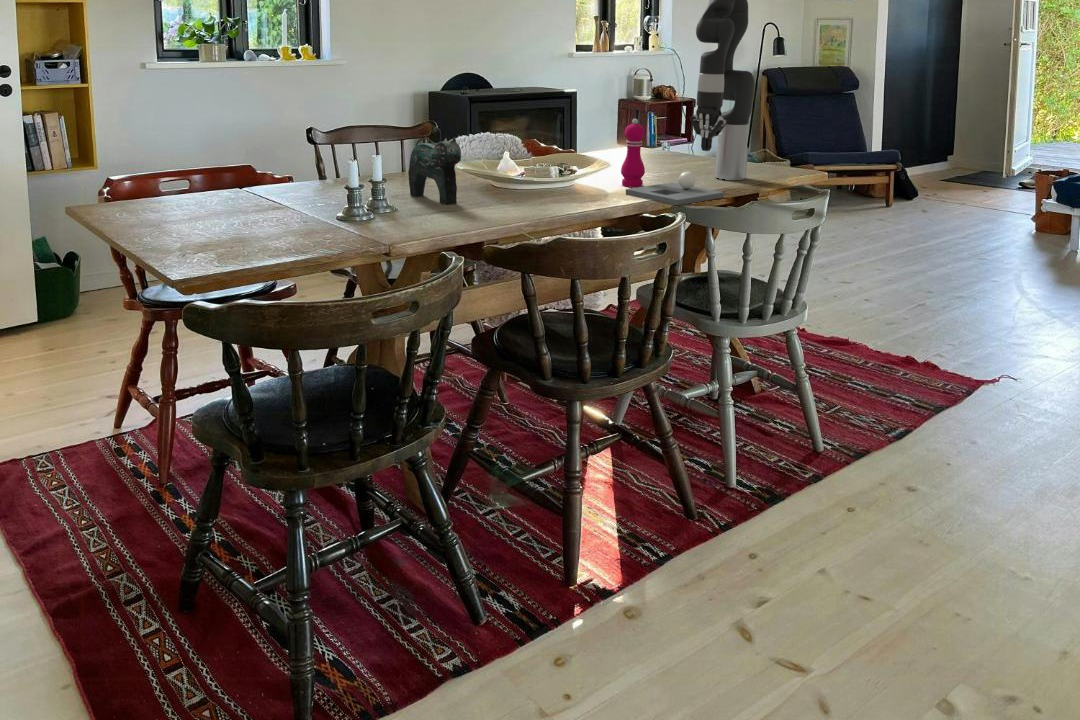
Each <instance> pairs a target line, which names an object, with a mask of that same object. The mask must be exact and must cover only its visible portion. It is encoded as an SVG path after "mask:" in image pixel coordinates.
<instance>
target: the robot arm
mask: <svg viewBox="0 0 1080 720" xmlns="http://www.w3.org/2000/svg"><path fill="white" fill-rule="evenodd" d="M748 25H749V2H748V0H709V2H708V4H707V7H706V8H705V10H704V12H703V13H702V15H701V16H700V18H699V21H698V22H697V24H696V28H695V35H696V38H697V40H698V41H699V42H700V43H704V44H717V49H715V50H711V51H705V52H703V53H701V56H700V60H699V61H700V62H699V63H700V64H699V76H698V82H697V91H696V92H697V93H696V104H695V105H696V106H697V109H696V110H695V114H693V116H689V120H690V123H691V125H692V128H693V129H694V131H695V134H696V135H698V136H699V137H701V141H700V142H701V144H700V147H701V150H702V151H704V152H710V151H711V149H712V147H713V146H712V145H713V138H715V137H717V140H716V141H717V145H716V156H715V171H714V178H715V177H716V178H715V179H717V178H719V179H718V180H722V179H725V180H724V181H742V180H745V179H746V178H747V171H748V169H747V168H748V155H749V147H748V145H747V144H748V137H749V136H748V135H749V134H748V133H749V122H750V121H749V120H750V116H751V114H752V108H753V100H754V93H755V92H754V91H755V78H754V75H753V72H751V71H749V70H739V69H738V70H737V69H734V56H735V52H736V49H737V48H738V46H739V44H740V42H741V41H742V39H743V37H744V35H745V34H746V32H747V30H748ZM724 101H730V102H731V101H733V102H734V104H733V107H732V108H731V109H729V110H726V111H723V112H722V110H721V109H722V107H723V105H724Z"/></svg>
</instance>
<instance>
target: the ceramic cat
mask: <svg viewBox="0 0 1080 720" xmlns="http://www.w3.org/2000/svg"><path fill="white" fill-rule="evenodd" d="M436 130H437V131H438V132H439V137H440V138H439V142H434V141H432V140H431V139H430V138H428V137H422V138H420V139H418V141H417V142H416V143H415V145H414V147H413V149H412V150H411V153H410V157H409V163H408V164H409V165H408V166H409V167H408V171H407V173H408V184H409V185H408V186H409V193H410V196H412V197H415V198H418V197H423V196H424V193H425V188H426V181H427V178H428V179H432V180H433V181H435V185H436V186H437V189H438V194H439V203H440V205H441V204H442V205H446V206H448V205H449V206H450V205H456V204H457V202H458V201H457V199H458V197H457V190H458V186H457V173H456V170H455V165H456V164H459V163H460V162H461V158H462V150H461V147H460V145H459V144H458V143H457V138H456V137H455V136H454V137H453V138H452V139H451V140H447V138H445V139H444V140H443V141H442V133H441V129H440V128H439V127H435V128H434V130H433V131H432V132H433V133H435V131H436ZM425 140H427V141H429V142H425V143H424V142H423V143H420V142H421V141H425Z"/></svg>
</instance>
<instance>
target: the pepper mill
mask: <svg viewBox="0 0 1080 720" xmlns="http://www.w3.org/2000/svg"><path fill="white" fill-rule="evenodd" d="M645 134H646V132H645V129H644V126H642V125H641V124H639V120H638V119H637V118H633V119H632V121H631V124H629V125H627V126H626V127H625V130H624V137H625V138H626V140H625V146H626V148H627V149H626V155H625V159H624V160H623V163H622V165H621V167H620V168H621V169H620V174H621V175H622V177H623V178H622V180H621V185H622V186H623V187H625V188H638V187H644V186H643V184H644V182H643V179H642V177H644V176H645V174H646V171H645V169H646V168H645V164H644V162H643V159H642V155H641V147H642V146H643V142H644V141H643V138H644V137H645Z"/></svg>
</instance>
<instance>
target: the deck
mask: <svg viewBox="0 0 1080 720" xmlns="http://www.w3.org/2000/svg"><path fill="white" fill-rule="evenodd" d="M625 195H627V196H630V197H631V196H632V197H636V198H641V199H644V200H645V199H646V200H650V201H655V202H660V203H665V204H670V205H674V206H682V205H687V204H693V203H697V202H699V203H700V202H705V201H711V200H716V199H722V198H724V196H725V192H724V191H720V190H715V189H710V188H703V187H700V186H693V187H692V188H690V189H684V188H682V187H681V186H680V185H679V183H678V182H674V181H673V182H671V181H670V182H666V183H660V184H659V183H658V184H653V185H646V186H642V187H630V188H626V189H625Z"/></svg>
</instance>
